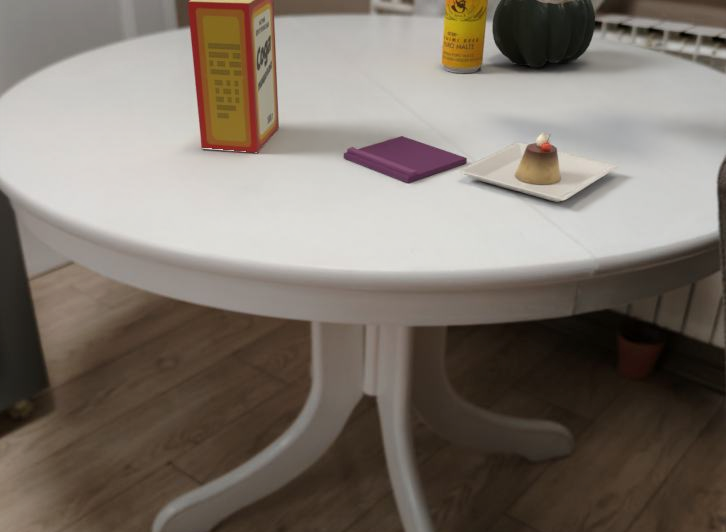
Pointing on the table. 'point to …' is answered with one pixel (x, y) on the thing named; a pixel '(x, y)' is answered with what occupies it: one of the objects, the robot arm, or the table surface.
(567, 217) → the table surface
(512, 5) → the squash
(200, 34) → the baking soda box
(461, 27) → the beer can
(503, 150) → the dessert
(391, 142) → the purple flat slab
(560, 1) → the garlic bulb
